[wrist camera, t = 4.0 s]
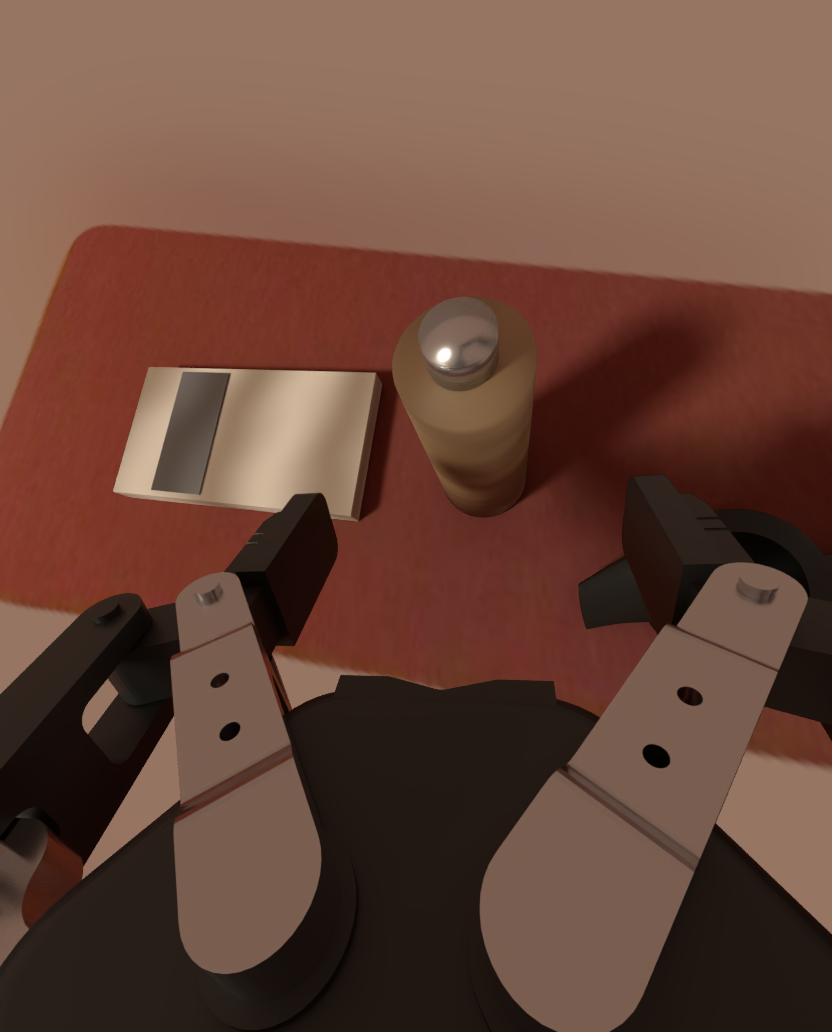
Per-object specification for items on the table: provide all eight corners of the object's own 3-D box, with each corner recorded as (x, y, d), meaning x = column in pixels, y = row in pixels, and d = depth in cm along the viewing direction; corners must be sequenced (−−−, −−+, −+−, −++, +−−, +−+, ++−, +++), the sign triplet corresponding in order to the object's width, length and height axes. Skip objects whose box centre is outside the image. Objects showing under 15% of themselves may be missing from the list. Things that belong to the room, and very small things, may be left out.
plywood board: (382, 384, 24) (375, 371, 23) (358, 521, 23) (349, 515, 21) (164, 377, 27) (147, 366, 26) (130, 497, 26) (111, 491, 25)
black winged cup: (630, 467, 21) (648, 443, 18) (877, 563, 18) (944, 552, 15) (559, 617, 20) (567, 616, 17) (807, 742, 17) (864, 766, 14)
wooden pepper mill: (529, 441, 22) (545, 260, 11) (522, 520, 21) (533, 405, 10) (448, 437, 23) (392, 267, 12) (438, 513, 22) (369, 401, 11)
